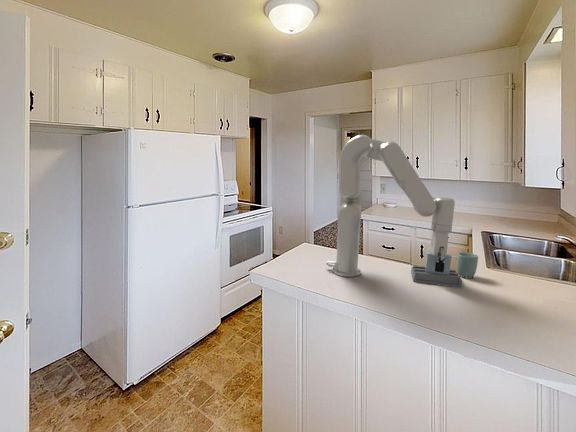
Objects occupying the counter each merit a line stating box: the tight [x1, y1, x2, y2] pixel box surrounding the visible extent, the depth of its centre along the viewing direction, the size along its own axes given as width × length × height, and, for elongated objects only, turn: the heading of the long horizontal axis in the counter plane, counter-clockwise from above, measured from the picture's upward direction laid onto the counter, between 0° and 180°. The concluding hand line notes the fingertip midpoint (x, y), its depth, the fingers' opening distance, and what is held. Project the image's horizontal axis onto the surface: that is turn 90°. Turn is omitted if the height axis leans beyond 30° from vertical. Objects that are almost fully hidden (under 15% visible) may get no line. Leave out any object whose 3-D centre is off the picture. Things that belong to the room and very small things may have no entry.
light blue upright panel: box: [425, 252, 452, 275], centre depth 130 cm, size 9×2×11 cm, turn 74°
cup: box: [456, 251, 479, 279], centre depth 138 cm, size 8×8×10 cm
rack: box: [410, 264, 463, 288], centre depth 133 cm, size 18×11×4 cm, turn 74°
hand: (437, 267), depth 130 cm, fingers open, 9 cm apart
